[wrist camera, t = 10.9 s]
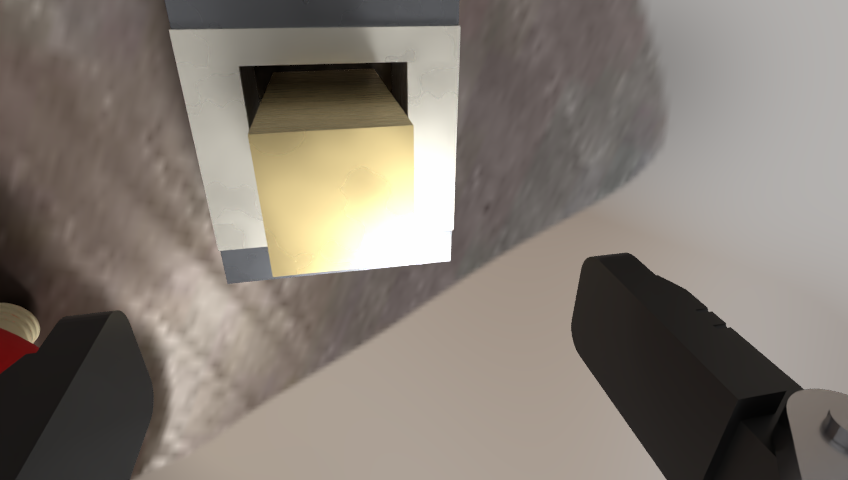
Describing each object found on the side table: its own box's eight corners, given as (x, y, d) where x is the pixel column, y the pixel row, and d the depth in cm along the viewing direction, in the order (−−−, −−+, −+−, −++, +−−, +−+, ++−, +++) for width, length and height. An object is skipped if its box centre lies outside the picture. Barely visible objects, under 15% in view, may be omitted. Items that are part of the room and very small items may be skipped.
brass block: (273, 72, 21) (247, 134, 13) (373, 68, 22) (413, 125, 13) (286, 167, 23) (272, 277, 15) (377, 161, 24) (415, 261, 16)
